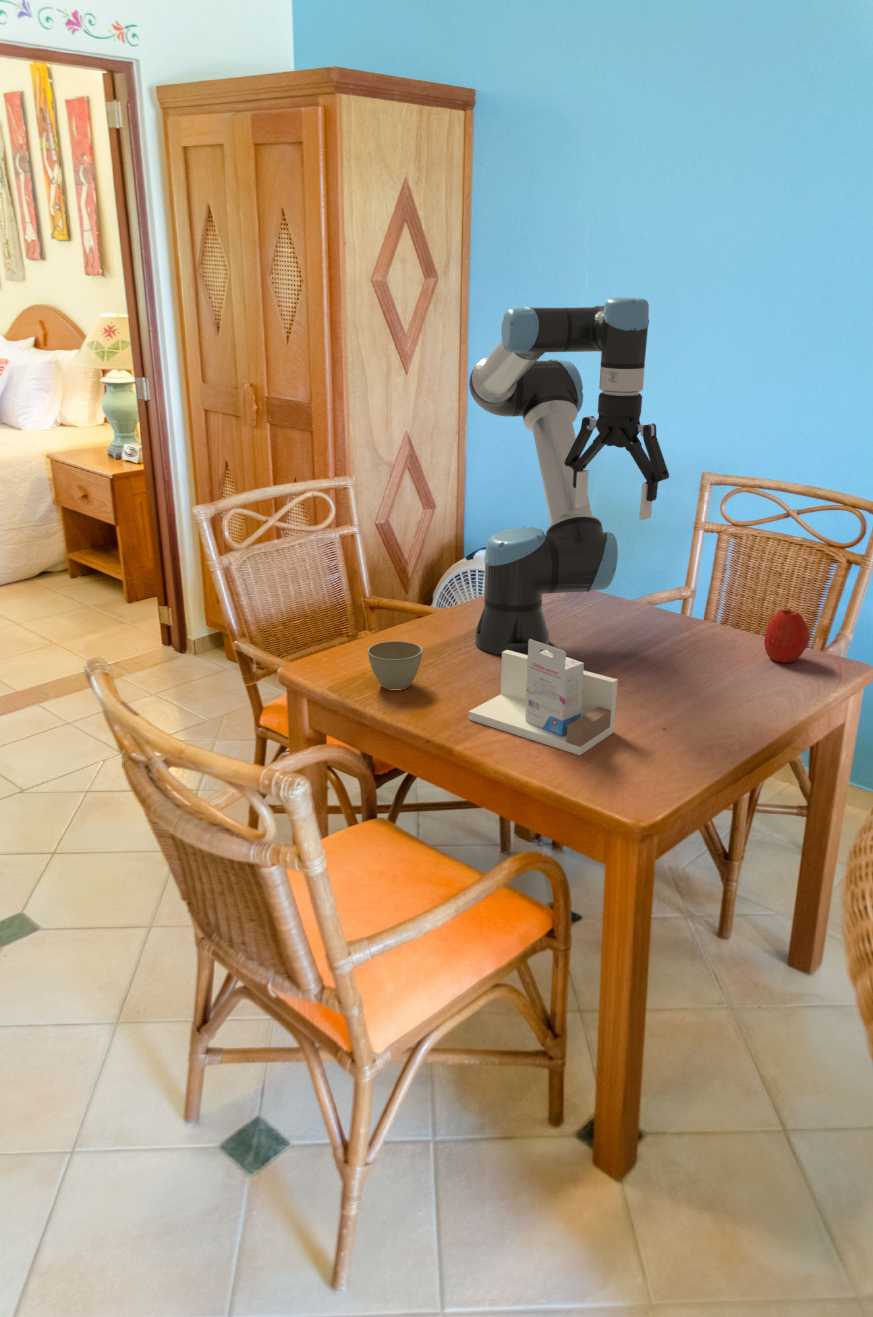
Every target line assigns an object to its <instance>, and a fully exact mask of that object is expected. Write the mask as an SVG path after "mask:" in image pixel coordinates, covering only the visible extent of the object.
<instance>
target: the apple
mask: <svg viewBox="0 0 873 1317" xmlns="http://www.w3.org/2000/svg"><path fill="white" fill-rule="evenodd" d="M790 608H791V607H789V608H788V609H786V608H785V609H780V610H779V611H777V612H776V613H775V614H774V615H773V617H772V618H771V619H770V620H769V622H768V623H767V627H766V629H765V632H764V640H763V644H764V649H765V652H766V655H767V656H768V657H769V659H770V660H772V661H774V662H777V663H782V664H791V663H792V662H795V661H797V660H798V659H799V658H800V657H801V656H802V655H803V653H804V651H805V650H806V649H807V646H808V643H809V641H810V633H809V632H810V631H809V627H808V626H807V623H806V621H805V619H804V617H803V616H802V614H800V613H799V611H796V610H792V609H790Z"/></svg>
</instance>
